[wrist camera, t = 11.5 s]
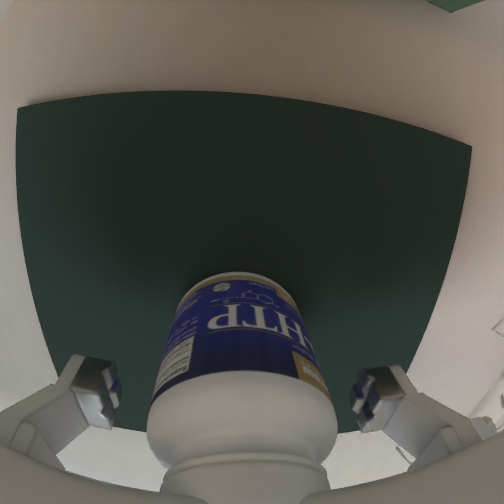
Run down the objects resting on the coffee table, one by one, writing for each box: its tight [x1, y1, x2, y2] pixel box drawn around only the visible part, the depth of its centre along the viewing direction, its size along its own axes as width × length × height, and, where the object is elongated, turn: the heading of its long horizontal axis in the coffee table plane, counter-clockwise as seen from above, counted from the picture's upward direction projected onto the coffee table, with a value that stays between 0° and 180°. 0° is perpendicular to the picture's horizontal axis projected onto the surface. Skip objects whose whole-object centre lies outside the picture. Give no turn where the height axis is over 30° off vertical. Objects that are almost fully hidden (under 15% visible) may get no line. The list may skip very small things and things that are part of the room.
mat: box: [16, 91, 472, 434], centre depth 13 cm, size 20×18×1 cm
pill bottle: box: [147, 272, 338, 504], centre depth 8 cm, size 5×5×9 cm
